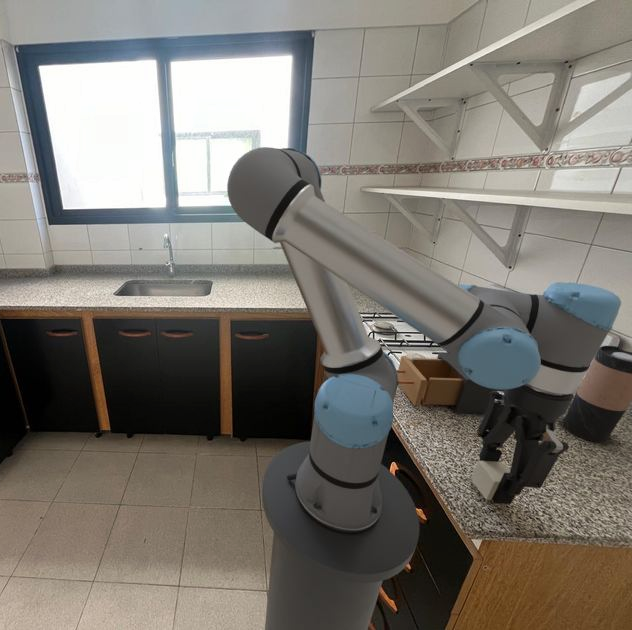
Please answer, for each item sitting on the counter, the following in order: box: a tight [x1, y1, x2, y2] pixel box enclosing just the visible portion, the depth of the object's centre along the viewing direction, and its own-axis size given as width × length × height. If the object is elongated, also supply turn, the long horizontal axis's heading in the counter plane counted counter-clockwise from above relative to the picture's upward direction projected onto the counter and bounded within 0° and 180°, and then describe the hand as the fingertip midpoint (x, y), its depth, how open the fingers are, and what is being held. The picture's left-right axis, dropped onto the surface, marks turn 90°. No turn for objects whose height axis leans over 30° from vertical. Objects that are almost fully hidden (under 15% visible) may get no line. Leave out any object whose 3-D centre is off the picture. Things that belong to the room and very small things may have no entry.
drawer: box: [396, 355, 464, 407], centre depth 89 cm, size 18×11×8 cm, turn 86°
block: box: [470, 460, 517, 502], centre depth 62 cm, size 5×5×5 cm
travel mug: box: [562, 345, 632, 443], centre depth 74 cm, size 8×8×20 cm
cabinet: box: [436, 352, 504, 414], centre depth 88 cm, size 15×13×10 cm
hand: (491, 488), depth 63 cm, fingers closed on block, 5 cm apart
